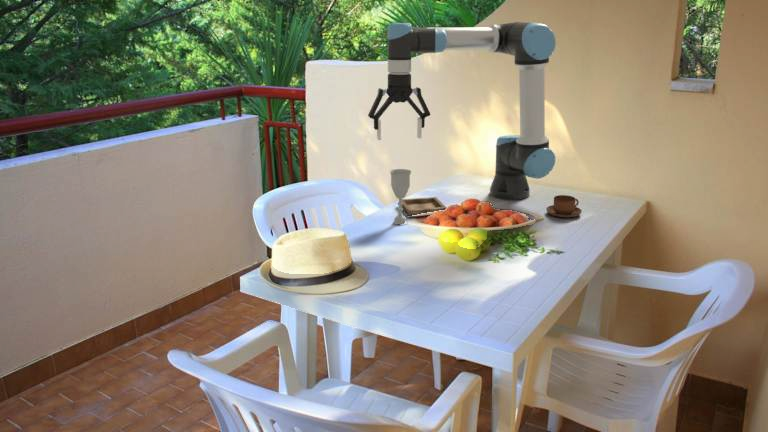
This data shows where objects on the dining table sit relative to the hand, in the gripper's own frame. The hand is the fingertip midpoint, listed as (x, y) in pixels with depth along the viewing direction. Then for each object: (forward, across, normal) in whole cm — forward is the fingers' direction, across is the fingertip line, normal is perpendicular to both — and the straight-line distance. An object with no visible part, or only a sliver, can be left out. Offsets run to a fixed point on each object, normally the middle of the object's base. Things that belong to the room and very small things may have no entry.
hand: (399, 138), depth 227 cm
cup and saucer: (+29, -58, +4) cm, 65 cm away
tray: (+29, -11, -11) cm, 33 cm away
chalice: (+29, 0, +1) cm, 29 cm away
